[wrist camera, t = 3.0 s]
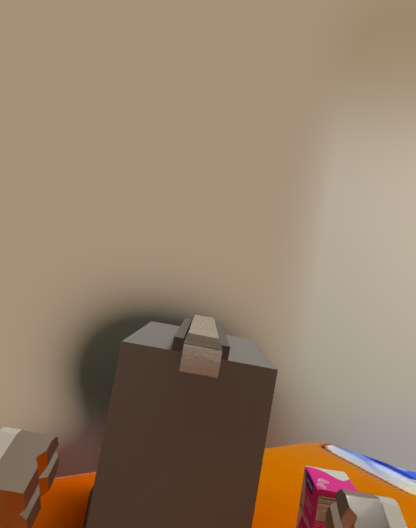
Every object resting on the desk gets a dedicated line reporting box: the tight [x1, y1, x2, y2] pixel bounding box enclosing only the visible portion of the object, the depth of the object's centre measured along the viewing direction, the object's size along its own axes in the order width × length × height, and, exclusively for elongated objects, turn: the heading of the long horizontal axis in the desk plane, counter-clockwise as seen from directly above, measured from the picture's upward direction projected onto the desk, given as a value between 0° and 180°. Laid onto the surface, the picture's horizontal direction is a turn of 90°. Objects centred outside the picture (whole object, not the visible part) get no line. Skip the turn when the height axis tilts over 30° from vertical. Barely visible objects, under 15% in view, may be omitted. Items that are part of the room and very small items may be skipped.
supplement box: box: [296, 466, 358, 528], centre depth 46 cm, size 6×6×12 cm
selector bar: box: [179, 315, 223, 378], centre depth 41 cm, size 3×28×2 cm, turn 0°
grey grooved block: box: [84, 318, 277, 528], centre depth 45 cm, size 17×20×27 cm
